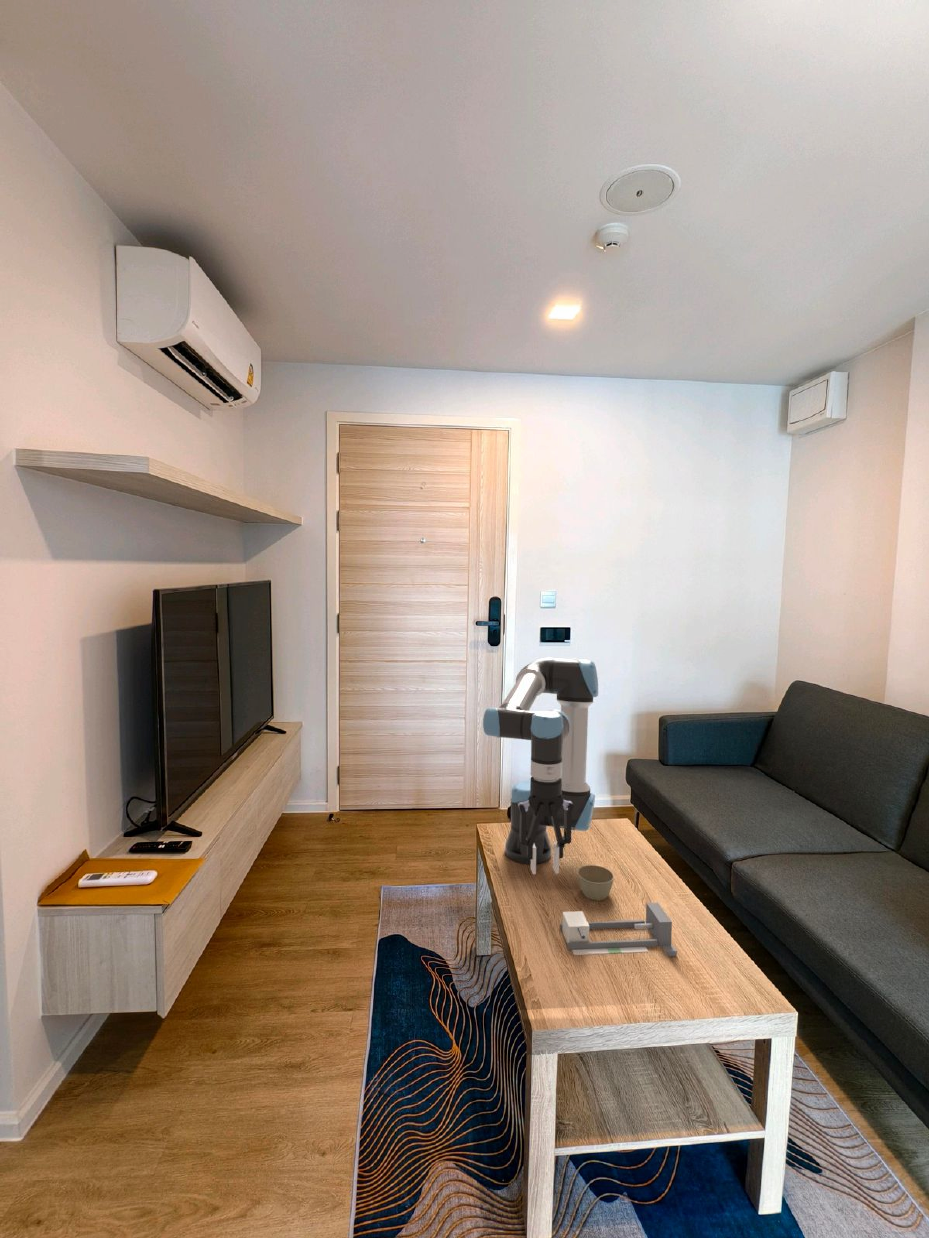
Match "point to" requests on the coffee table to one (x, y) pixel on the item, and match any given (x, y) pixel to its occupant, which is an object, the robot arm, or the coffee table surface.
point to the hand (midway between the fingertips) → (544, 870)
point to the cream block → (575, 927)
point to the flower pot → (595, 881)
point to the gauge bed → (654, 923)
